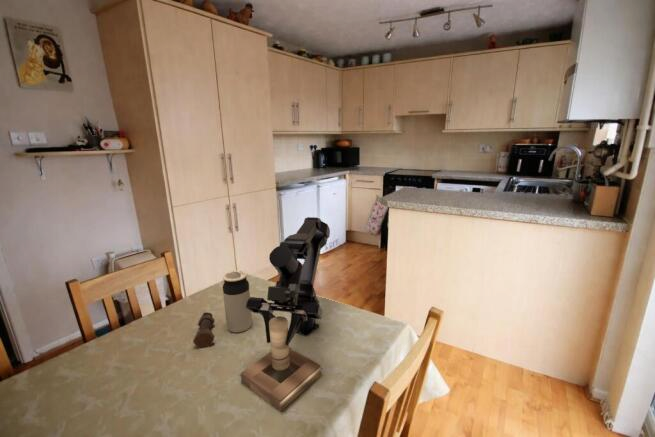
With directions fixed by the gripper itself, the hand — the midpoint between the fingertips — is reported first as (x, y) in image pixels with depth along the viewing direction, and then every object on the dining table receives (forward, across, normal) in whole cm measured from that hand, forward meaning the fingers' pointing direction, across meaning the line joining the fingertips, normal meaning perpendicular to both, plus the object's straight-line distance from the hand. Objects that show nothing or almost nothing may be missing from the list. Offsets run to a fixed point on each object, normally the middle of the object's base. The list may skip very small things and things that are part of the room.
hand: (277, 344), depth 74 cm
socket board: (+7, 0, +9) cm, 11 cm away
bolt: (-3, -30, +19) cm, 36 cm away
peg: (+4, 0, +6) cm, 7 cm away
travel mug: (-7, -21, +23) cm, 32 cm away
